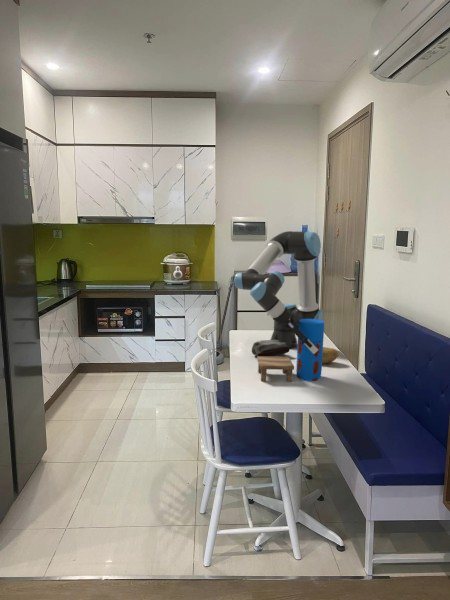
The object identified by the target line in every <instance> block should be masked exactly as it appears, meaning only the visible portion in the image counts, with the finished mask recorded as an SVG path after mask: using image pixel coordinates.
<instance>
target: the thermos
mask: <svg viewBox="0 0 450 600" xmlns="http://www.w3.org/2000/svg"><path fill="white" fill-rule="evenodd" d="M298 329H299V330H300V331H301V332H302V333H303V334H304V335H305V337H306V338H308V339H309V340H310V341H311V342H312V343H313V344H314V346H315V347H316V348H317V349H318V351H317V352H316V353H315V354H313V353H312V352H311V351H310V350H309V349H308V348H307V347H306V345H305V344H303V345H302V341H301V340H300V339H299V338H298V337H297V346H296V348H297V349H296V367H295V369H296V378H297V379H299V380H302V381H307V382H317V381H320V380H321V378H322V369H323V368H322V367H323V364H322V355H323V347H324V338H325V337H324V336H325V335H324V334H325V333H324V332H325V322H324V320H323V319H322V320H317V319H301V320H299V327H298ZM304 339H305V338H304ZM304 339H303V340H304Z"/></svg>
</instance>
